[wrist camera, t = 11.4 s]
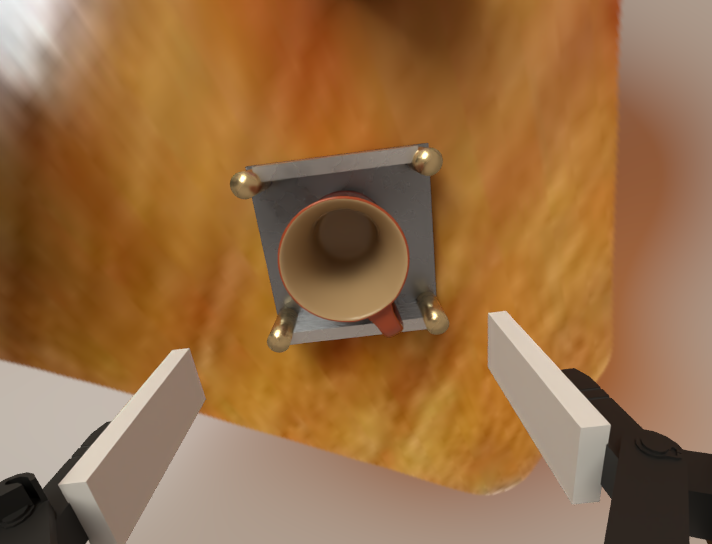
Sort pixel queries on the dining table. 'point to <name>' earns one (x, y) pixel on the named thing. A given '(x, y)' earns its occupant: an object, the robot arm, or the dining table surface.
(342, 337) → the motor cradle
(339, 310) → the mug
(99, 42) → the dining table surface
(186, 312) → the dining table surface
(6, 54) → the dining table surface
